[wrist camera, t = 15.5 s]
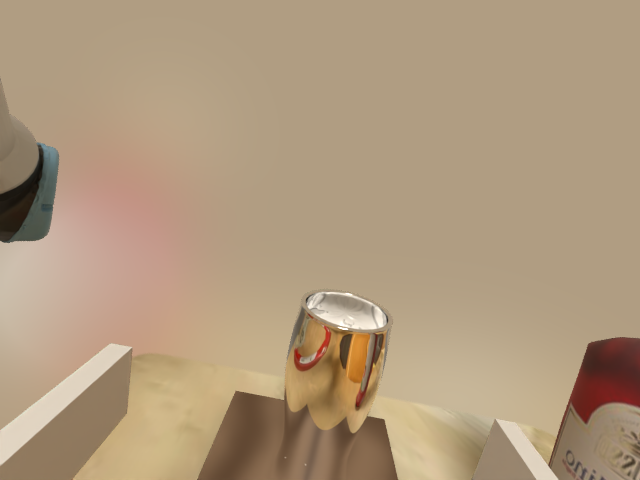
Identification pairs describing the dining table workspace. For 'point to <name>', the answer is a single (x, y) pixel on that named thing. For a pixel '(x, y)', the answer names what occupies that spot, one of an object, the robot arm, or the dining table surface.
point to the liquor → (602, 416)
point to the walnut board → (266, 436)
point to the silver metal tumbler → (330, 382)
